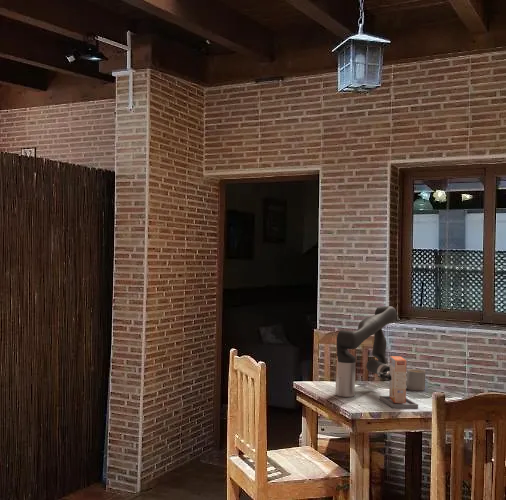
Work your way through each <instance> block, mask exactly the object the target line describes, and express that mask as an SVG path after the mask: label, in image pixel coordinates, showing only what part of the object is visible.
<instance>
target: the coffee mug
mask: <svg viewBox="0 0 506 500" xmlns="http://www.w3.org/2000/svg"><path fill="white" fill-rule="evenodd" d="M426 374H427V373H426V370H424V369H415V368H413V369H411V368H409V369H406V390H410V391H425V390H426ZM424 389H425V390H424Z"/></svg>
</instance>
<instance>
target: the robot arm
mask: <svg viewBox="0 0 506 500" xmlns="http://www.w3.org/2000/svg"><path fill="white" fill-rule="evenodd" d="M374 311H375V312H374V315H370V316H368V317H366V318H364V319H363V320H361V321H360V322H359V323H358V327H357V330H356V331H354V330H353V331H352V330H345V329H344V330H340V331H338V332H337V335H336V357H337V364H336V365H337V367H336V369H337V371H336V376H335V395H336V396H338V397H344V398H345V397H346V398H350V397H355V395H356V393H355V387H356V364H357V363H356V359H357V358H356V356H355V355H353V354H352V353H350V352H349V351H348V350H356V349H358V348H359V346H361V345H362V344H363V343H364V341H365V340H367V339H368V338H369V337H371V336H373V335H374V339H373V345H372V351H371V355H372V356H373V357H375V358H371V359H368V361H366V369H367V371H368V372H370V373H373V374H375V375H377V378H380V379H382V380H384V381H386V382H390V380H391V375H390V364H387V362H386V361H387V360H386V351H387V339H386V337H385V335H384V333H383V328H384V327H385V326H387V325H389V324H391V323H393V322H395V320H396V319H397V317H398V316H397V315H398V312H397V309H396V308H395V307H393V306H391V305H390V306H389V305H388V306H387V305H386V306H379V307H377V308H376V309H375V310H374Z"/></svg>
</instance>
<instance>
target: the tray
mask: <svg viewBox="0 0 506 500" xmlns="http://www.w3.org/2000/svg"><path fill="white" fill-rule="evenodd" d="M379 401H381V402H382V403H383V404H385V405H387V406H388V407H390V408H391V409H419V404H418V403H416V402H414V401H412V400H411V399H410V398H407V397H406V403H394V402H393V401H392V400H391V398H390V397H389V395H380V396H379Z"/></svg>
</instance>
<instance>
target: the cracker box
mask: <svg viewBox="0 0 506 500" xmlns="http://www.w3.org/2000/svg"><path fill="white" fill-rule="evenodd" d="M407 363H408V362H407V359H405V358H403V356H400V355H398V356H397V355H396V356H395V355H394V356H393V355H390V356H389V366H390V375H391V380H390V381H389V390H388V391H389V393H388V394H389V395H388V396H389V397H390V398H391V400H392V401H393V402H394V403H406V398H407V397H406V396H407V386H406V380H407V377H406V373H407Z"/></svg>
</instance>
